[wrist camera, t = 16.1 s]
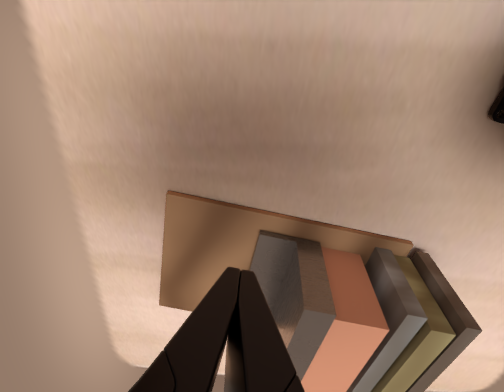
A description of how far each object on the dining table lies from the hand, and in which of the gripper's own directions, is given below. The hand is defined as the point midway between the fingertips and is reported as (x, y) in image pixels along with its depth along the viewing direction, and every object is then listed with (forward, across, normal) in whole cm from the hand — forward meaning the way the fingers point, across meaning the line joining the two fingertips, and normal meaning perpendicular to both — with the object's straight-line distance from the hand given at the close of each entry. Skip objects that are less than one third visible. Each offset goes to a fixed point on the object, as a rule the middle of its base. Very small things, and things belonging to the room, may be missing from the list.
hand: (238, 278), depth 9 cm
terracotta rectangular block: (+12, -9, +12) cm, 19 cm away
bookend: (+12, -4, +12) cm, 18 cm away
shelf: (+13, -5, +12) cm, 18 cm away
